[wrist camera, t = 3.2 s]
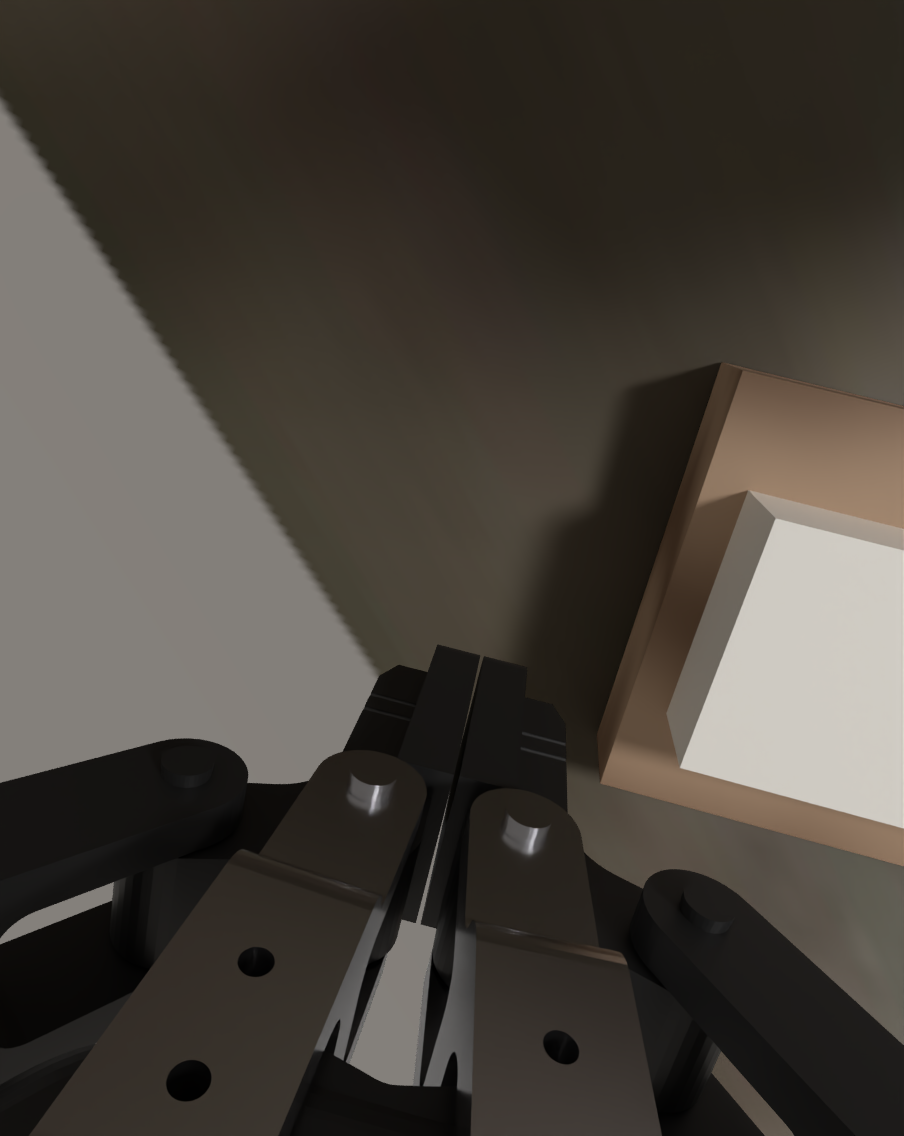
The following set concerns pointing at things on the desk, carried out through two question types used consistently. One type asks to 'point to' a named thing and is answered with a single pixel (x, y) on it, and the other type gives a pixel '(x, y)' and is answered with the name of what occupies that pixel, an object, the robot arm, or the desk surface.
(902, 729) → the white box
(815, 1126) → the robot arm
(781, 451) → the plate
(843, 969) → the desk surface
